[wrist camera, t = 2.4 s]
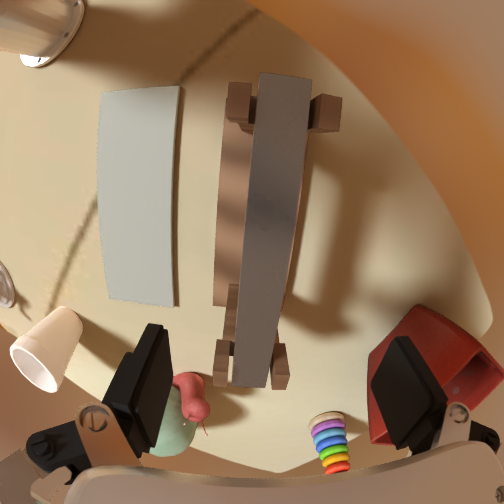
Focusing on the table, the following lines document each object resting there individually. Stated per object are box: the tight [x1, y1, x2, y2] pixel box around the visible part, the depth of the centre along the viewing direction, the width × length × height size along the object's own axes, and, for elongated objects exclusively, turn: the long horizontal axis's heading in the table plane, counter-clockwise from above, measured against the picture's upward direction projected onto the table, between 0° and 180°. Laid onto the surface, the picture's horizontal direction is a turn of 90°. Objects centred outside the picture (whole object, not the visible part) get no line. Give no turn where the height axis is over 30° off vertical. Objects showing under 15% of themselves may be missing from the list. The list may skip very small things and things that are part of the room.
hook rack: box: [213, 82, 342, 390], centre depth 24 cm, size 25×9×16 cm, turn 175°
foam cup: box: [10, 306, 83, 393], centre depth 32 cm, size 10×9×13 cm
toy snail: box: [149, 372, 210, 456], centre depth 38 cm, size 25×8×14 cm, turn 132°
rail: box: [232, 72, 312, 388], centre depth 19 cm, size 24×3×3 cm, turn 175°
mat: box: [97, 86, 180, 308], centre depth 30 cm, size 28×10×1 cm, turn 175°
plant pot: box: [367, 304, 504, 446], centre depth 33 cm, size 19×19×17 cm
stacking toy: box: [309, 412, 350, 475], centre depth 40 cm, size 8×8×19 cm
